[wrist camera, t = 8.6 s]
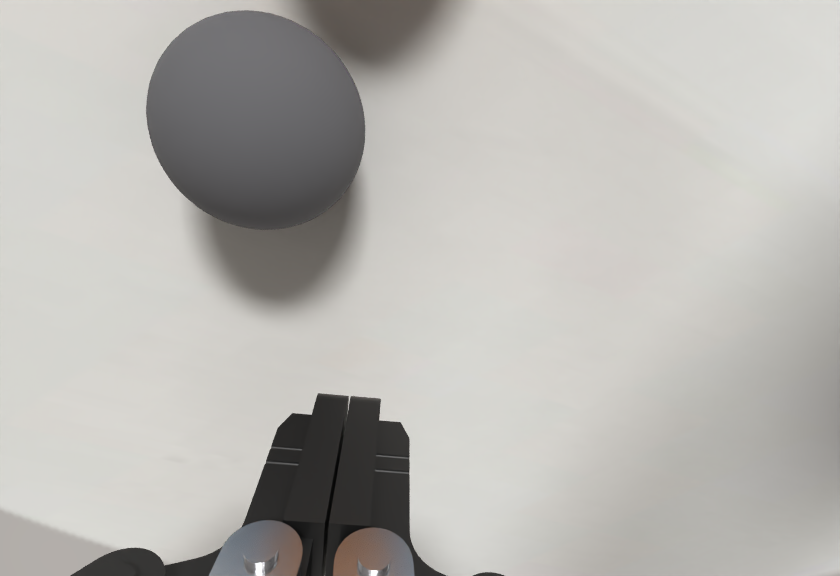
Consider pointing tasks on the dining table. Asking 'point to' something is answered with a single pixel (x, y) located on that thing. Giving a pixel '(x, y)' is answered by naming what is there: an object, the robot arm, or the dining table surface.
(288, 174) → the gray ball
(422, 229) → the dining table surface
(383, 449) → the robot arm
